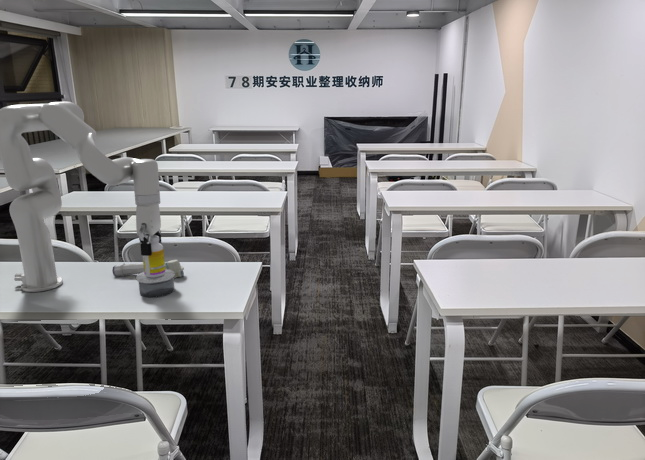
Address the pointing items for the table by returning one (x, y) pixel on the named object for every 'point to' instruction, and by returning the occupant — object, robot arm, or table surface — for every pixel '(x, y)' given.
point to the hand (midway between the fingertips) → (151, 250)
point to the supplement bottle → (154, 259)
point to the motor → (156, 284)
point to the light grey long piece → (139, 268)
